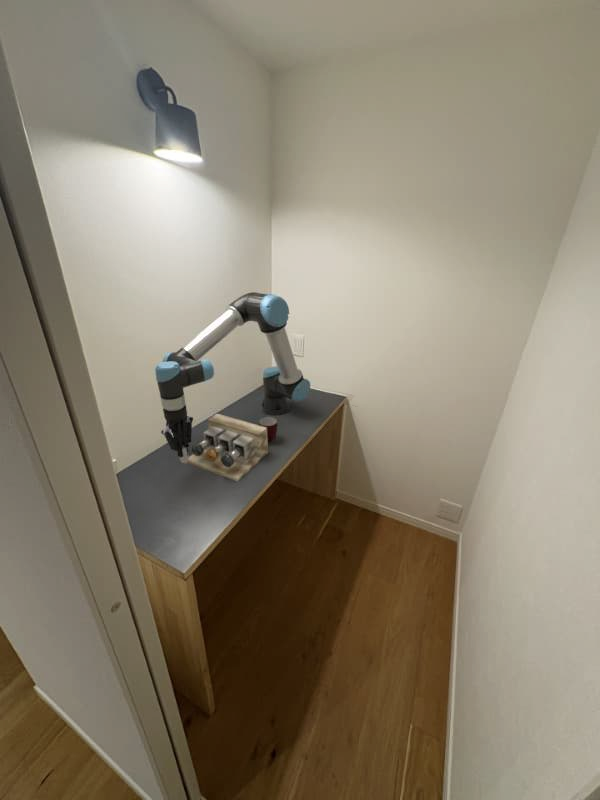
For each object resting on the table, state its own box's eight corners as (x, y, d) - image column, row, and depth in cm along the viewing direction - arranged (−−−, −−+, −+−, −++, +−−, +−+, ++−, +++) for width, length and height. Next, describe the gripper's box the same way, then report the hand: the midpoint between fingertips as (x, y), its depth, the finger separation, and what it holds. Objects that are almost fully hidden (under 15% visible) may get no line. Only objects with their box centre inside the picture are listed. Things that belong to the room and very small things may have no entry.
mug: (267, 450, 135) (266, 430, 131) (252, 444, 139) (251, 425, 134) (281, 438, 143) (280, 419, 139) (266, 434, 147) (265, 415, 142)
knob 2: (235, 453, 126) (234, 443, 124) (245, 456, 124) (244, 446, 122) (221, 465, 119) (220, 454, 117) (231, 468, 117) (230, 458, 115)
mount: (220, 436, 144) (217, 413, 139) (268, 452, 134) (266, 427, 128) (186, 461, 127) (181, 436, 122) (237, 481, 117) (235, 454, 112)
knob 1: (207, 443, 132) (205, 433, 130) (215, 446, 130) (214, 436, 128) (192, 454, 125) (190, 444, 123) (201, 457, 123) (199, 447, 121)
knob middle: (221, 448, 129) (219, 438, 127) (230, 451, 127) (229, 441, 125) (206, 459, 122) (205, 449, 120) (216, 463, 120) (214, 452, 118)
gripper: (180, 397, 115) (189, 450, 126) (151, 411, 105) (163, 468, 115) (196, 401, 112) (204, 455, 123) (167, 416, 102) (178, 474, 112)
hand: (184, 461), depth 119 cm, fingers closed
